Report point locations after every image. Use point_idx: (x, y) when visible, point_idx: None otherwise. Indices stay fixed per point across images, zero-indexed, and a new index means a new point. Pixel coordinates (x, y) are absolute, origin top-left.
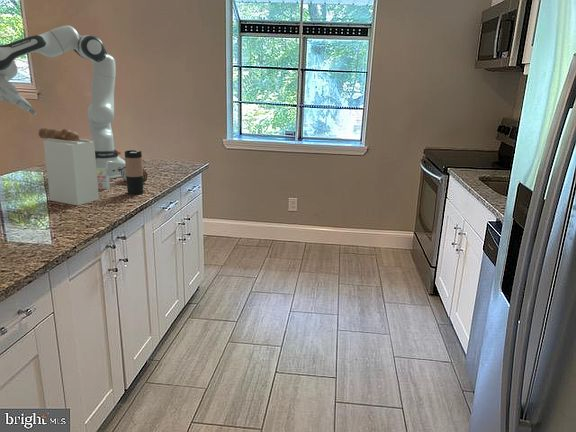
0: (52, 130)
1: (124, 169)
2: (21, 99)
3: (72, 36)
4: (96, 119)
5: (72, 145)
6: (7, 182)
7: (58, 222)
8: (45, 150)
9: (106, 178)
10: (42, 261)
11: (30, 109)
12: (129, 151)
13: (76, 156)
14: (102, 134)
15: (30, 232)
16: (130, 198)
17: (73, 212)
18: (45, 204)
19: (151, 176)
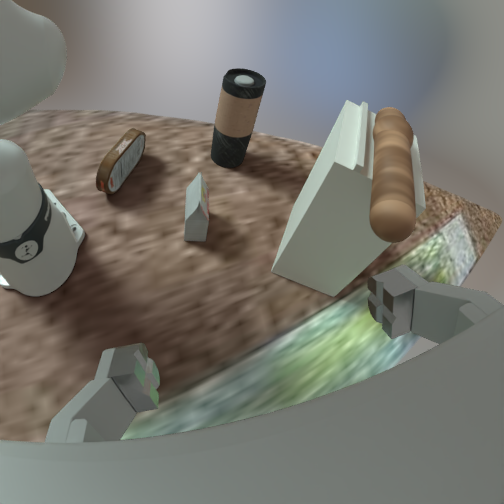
0: (410, 162)
1: (113, 168)
2: (489, 317)
3: None
4: (53, 84)
5: (414, 136)
6: None
7: (420, 229)
8: None
9: (208, 190)
10: (479, 209)
11: (96, 424)
12: (231, 84)
13: None
14: (14, 153)
15: (455, 247)
16: (271, 159)
17: None
18: (361, 291)
19: (66, 158)
